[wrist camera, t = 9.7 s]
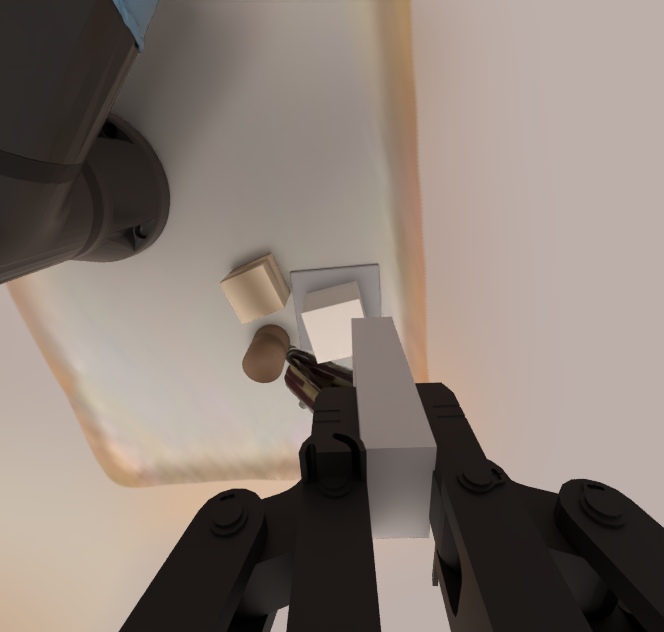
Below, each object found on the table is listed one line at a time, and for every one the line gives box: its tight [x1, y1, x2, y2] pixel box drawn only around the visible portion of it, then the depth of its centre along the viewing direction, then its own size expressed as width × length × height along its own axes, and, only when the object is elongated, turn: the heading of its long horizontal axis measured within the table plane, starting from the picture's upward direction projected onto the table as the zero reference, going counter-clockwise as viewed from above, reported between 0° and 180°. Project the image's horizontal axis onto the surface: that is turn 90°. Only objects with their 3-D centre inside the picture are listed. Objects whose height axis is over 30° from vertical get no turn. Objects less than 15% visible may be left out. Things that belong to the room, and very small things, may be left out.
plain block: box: [301, 281, 366, 364], centre depth 39 cm, size 6×6×6 cm
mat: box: [290, 264, 381, 351], centre depth 42 cm, size 10×10×1 cm
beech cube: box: [219, 254, 290, 324], centre depth 39 cm, size 5×5×5 cm
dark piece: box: [284, 346, 354, 413], centre depth 45 cm, size 10×7×12 cm
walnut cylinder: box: [242, 325, 290, 383], centre depth 42 cm, size 4×4×6 cm
